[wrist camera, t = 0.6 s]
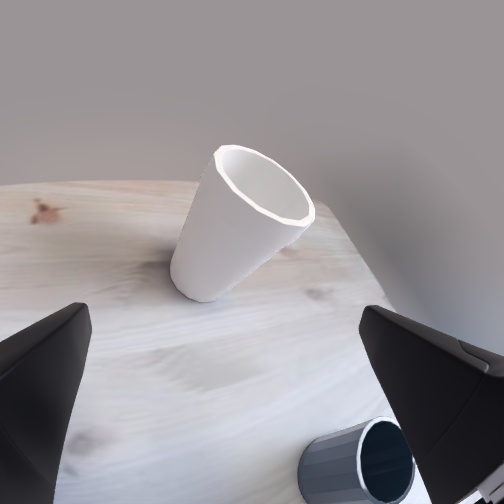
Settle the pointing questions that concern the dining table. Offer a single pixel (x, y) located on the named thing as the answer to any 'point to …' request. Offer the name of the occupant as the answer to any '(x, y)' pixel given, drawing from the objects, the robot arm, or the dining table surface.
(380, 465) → the cup
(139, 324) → the dining table surface
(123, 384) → the dining table surface
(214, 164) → the foam cup
